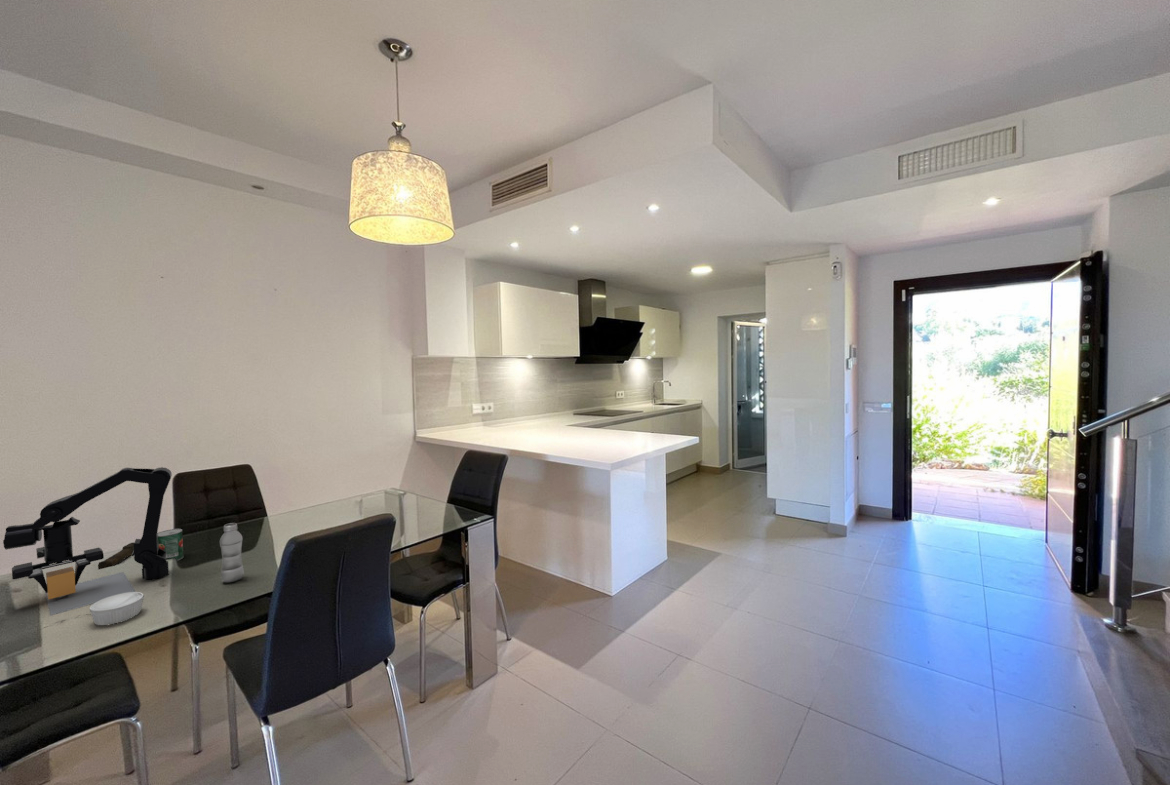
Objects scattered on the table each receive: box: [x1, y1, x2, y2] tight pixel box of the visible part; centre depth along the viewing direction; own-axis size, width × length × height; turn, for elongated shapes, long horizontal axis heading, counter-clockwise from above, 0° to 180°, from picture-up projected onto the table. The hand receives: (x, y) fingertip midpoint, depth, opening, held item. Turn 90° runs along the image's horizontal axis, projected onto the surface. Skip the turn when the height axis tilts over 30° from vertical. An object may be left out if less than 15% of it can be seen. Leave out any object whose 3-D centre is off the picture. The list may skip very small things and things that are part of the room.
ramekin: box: [89, 591, 145, 626], centre depth 134 cm, size 11×11×5 cm
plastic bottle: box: [219, 522, 245, 583], centre depth 157 cm, size 6×7×20 cm
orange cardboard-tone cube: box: [45, 566, 76, 599], centre depth 143 cm, size 6×6×7 cm
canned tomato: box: [157, 528, 185, 561], centre depth 175 cm, size 8×8×11 cm
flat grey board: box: [44, 571, 137, 616], centre depth 147 cm, size 24×18×2 cm
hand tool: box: [97, 541, 135, 570], centre depth 174 cm, size 19×4×5 cm, turn 17°
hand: (61, 588), depth 143 cm, fingers closed on orange cardboard-tone cube, 6 cm apart
